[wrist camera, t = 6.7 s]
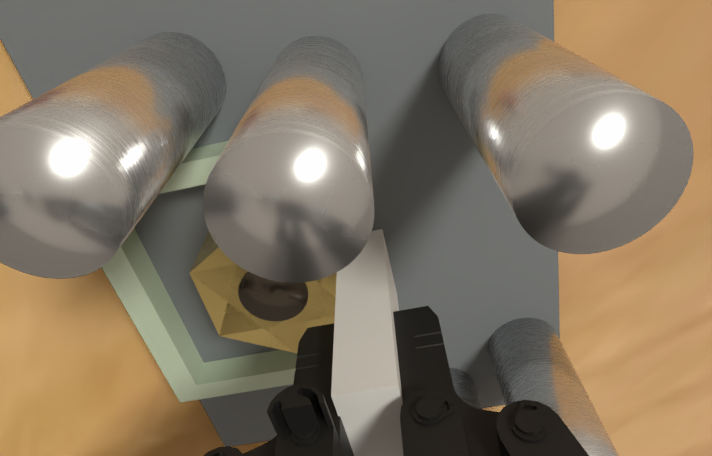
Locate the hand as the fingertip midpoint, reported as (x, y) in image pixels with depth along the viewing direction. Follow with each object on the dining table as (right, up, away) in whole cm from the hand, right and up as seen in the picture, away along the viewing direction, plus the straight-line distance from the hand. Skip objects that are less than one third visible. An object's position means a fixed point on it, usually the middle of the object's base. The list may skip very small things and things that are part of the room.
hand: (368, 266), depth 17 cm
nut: (-3, +1, +1) cm, 3 cm away
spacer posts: (+1, 0, +1) cm, 1 cm away
